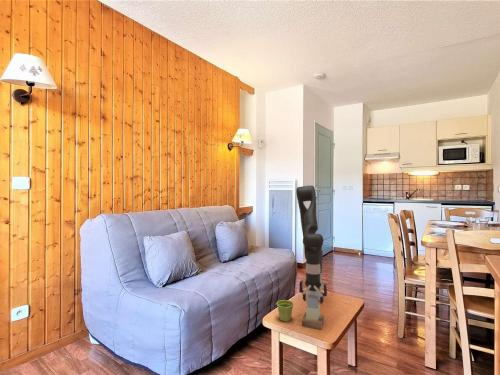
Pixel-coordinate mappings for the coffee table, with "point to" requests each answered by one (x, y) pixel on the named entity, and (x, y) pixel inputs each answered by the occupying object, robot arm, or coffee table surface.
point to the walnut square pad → (313, 322)
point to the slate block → (312, 301)
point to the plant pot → (285, 309)
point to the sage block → (313, 313)
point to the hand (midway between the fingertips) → (313, 302)
